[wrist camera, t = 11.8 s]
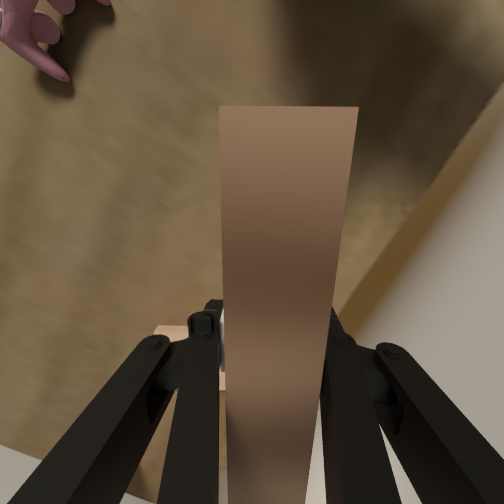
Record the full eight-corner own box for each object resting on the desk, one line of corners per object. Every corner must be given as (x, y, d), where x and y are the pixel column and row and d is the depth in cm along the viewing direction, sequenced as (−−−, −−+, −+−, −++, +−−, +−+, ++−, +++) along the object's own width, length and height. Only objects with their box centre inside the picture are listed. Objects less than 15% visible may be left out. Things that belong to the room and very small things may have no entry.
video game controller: (94, -20, 26) (6, -111, 19) (118, 0, 25) (33, -90, 18) (50, 69, 28) (-41, 14, 22) (69, 90, 27) (-20, 39, 21)
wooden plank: (246, 140, 15) (218, 105, 6) (298, 141, 15) (359, 106, 5) (244, 380, 21) (229, 559, 12) (281, 382, 21) (296, 564, 11)
